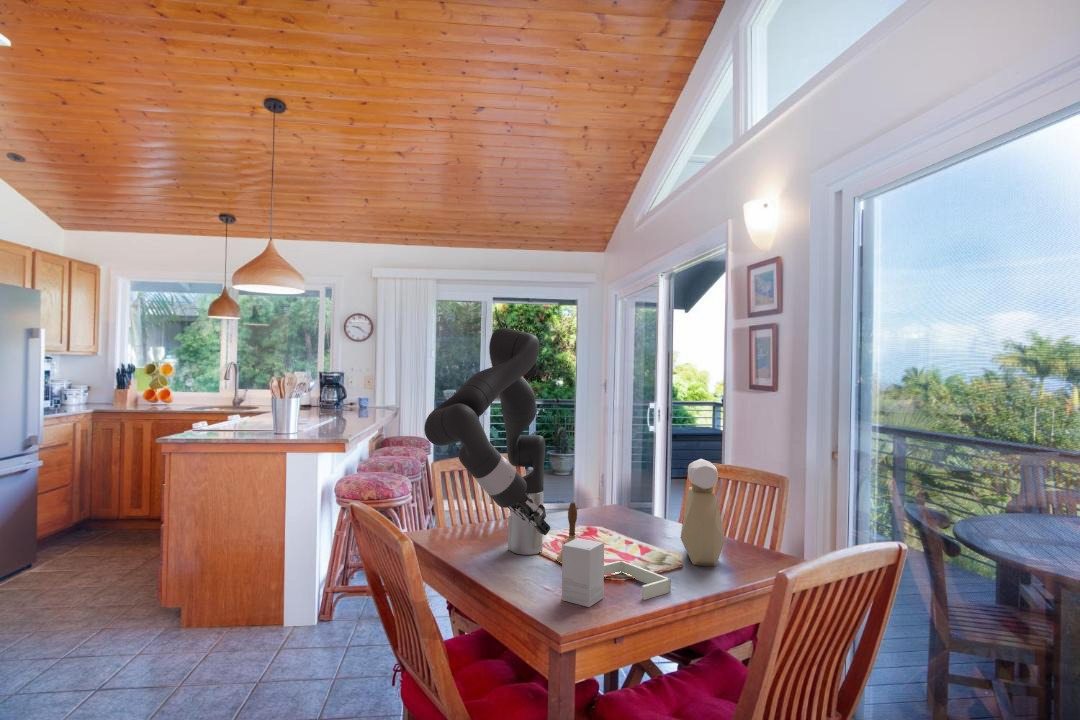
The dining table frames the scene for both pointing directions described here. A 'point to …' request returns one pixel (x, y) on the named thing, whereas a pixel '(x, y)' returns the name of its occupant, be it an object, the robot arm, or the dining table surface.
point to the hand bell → (570, 525)
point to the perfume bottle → (702, 516)
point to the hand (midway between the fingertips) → (546, 531)
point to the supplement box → (583, 572)
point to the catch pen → (642, 578)
